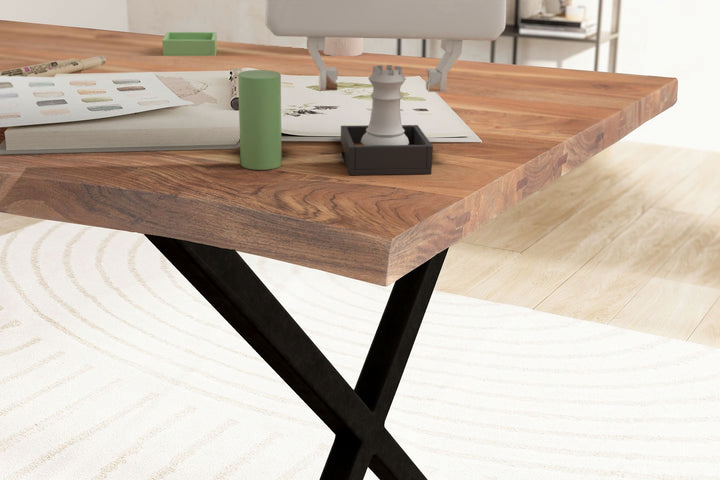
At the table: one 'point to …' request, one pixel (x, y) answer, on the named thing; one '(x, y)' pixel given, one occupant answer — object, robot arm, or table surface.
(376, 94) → the rook chess piece
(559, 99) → the table surface
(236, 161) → the table surface
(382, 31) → the robot arm
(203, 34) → the green tray
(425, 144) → the dark tray
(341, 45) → the dixie cup
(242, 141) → the green peg
